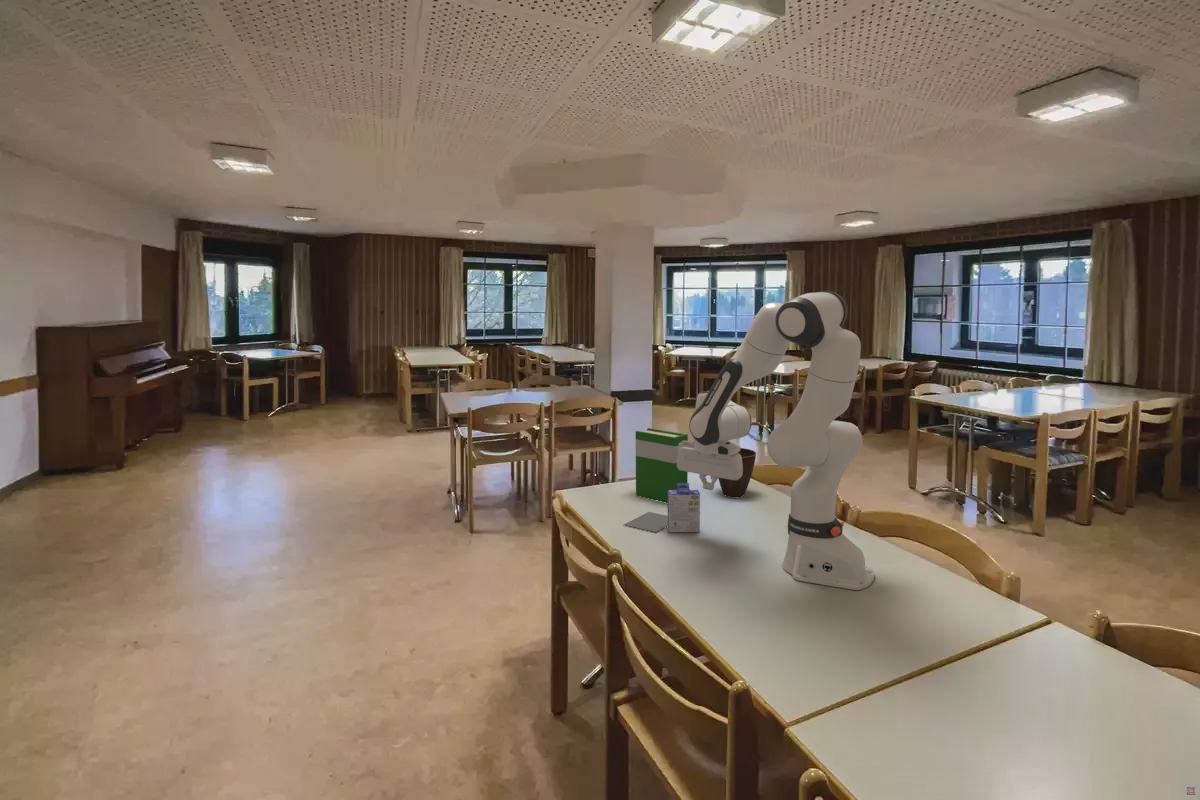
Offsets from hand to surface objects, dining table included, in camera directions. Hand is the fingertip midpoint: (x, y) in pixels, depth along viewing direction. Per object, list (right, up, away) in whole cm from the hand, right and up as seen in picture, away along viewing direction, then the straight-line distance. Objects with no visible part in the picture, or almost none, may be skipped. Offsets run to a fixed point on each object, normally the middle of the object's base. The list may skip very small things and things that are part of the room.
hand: (708, 489), depth 192 cm
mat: (-16, -13, +14) cm, 24 cm away
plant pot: (+16, -8, +42) cm, 46 cm away
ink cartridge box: (-7, -14, +7) cm, 17 cm away
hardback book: (-10, -9, +39) cm, 41 cm away
